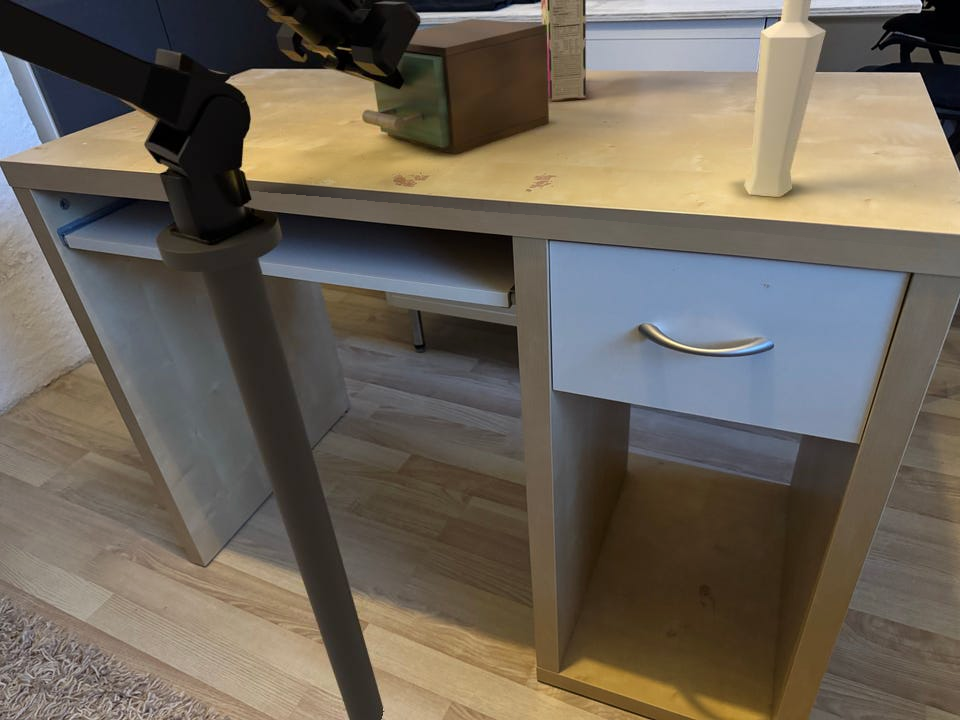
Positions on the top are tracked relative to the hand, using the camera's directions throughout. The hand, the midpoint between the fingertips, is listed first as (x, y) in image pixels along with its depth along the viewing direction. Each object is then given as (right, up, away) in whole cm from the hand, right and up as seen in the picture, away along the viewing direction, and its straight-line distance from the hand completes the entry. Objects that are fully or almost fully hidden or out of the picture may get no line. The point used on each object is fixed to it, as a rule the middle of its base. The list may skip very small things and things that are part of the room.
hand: (400, 85), depth 73 cm
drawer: (+4, -3, +6) cm, 8 cm away
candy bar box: (+20, +7, +21) cm, 30 cm away
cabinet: (+7, -2, +8) cm, 11 cm away
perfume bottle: (+33, -15, -14) cm, 39 cm away
